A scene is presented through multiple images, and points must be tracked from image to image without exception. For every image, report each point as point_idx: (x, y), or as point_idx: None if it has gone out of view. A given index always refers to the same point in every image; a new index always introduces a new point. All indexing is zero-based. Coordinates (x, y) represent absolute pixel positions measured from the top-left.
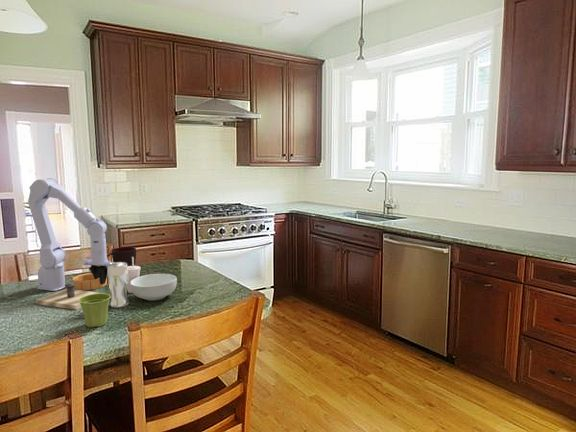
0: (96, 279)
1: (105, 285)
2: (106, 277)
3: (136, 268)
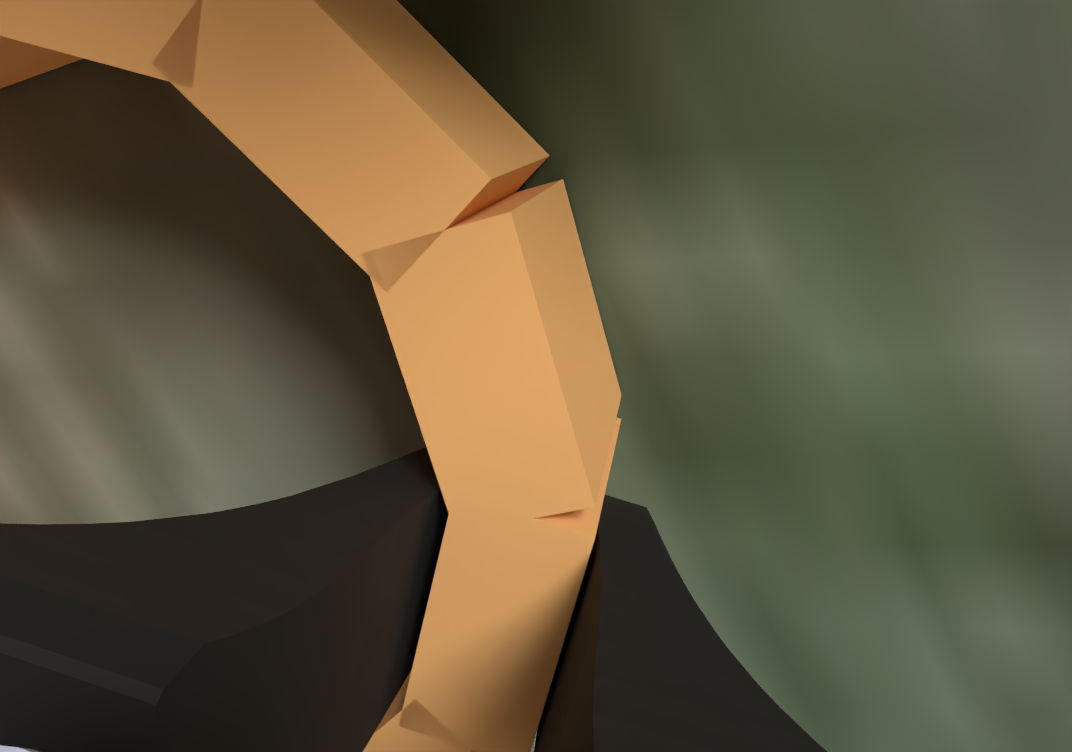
0: (414, 750)
1: (618, 397)
2: (541, 255)
3: None
